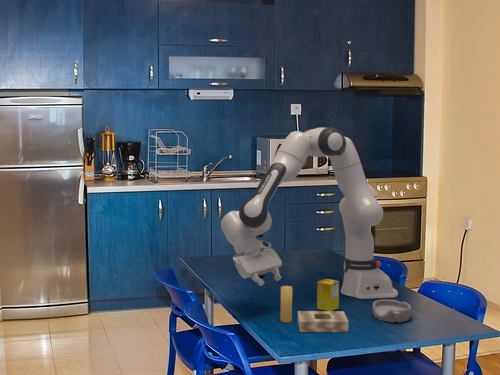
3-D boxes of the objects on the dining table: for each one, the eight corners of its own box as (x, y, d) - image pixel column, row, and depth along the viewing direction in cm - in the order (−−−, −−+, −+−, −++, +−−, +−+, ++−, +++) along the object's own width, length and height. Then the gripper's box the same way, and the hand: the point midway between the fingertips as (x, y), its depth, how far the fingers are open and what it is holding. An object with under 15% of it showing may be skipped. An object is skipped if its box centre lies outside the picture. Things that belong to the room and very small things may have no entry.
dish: (402, 326, 246) (402, 312, 245) (365, 319, 254) (365, 305, 253) (418, 316, 258) (418, 302, 257) (382, 309, 266) (383, 296, 265)
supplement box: (325, 306, 268) (325, 278, 266) (339, 310, 264) (339, 281, 263) (316, 310, 263) (316, 281, 262) (330, 313, 259) (330, 284, 258)
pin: (291, 319, 253) (291, 285, 251) (292, 322, 249) (292, 288, 247) (280, 319, 253) (280, 285, 251) (280, 322, 249) (281, 288, 247)
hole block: (343, 321, 251) (343, 311, 250) (348, 332, 239) (348, 321, 238) (297, 320, 251) (297, 311, 250) (300, 331, 239) (300, 321, 238)
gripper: (235, 250, 249) (257, 282, 244) (272, 241, 264) (293, 272, 259) (226, 261, 252) (247, 293, 247) (262, 251, 268) (283, 281, 263)
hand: (270, 282), depth 253 cm, fingers open, 8 cm apart
